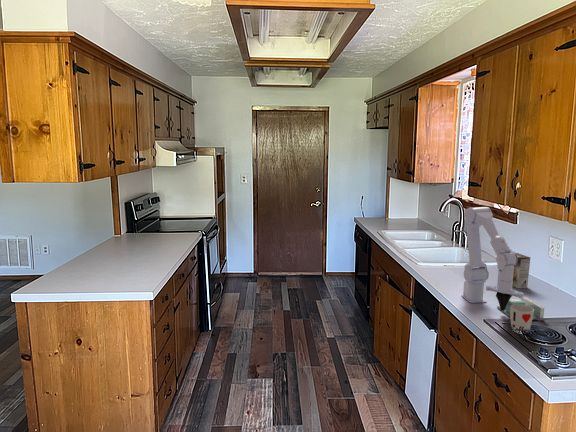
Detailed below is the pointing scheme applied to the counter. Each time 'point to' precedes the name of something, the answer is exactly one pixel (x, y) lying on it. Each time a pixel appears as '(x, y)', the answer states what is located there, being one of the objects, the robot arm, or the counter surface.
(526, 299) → the rail base
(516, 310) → the cup
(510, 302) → the module
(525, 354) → the counter surface
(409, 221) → the counter surface
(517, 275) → the coffee box
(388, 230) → the counter surface
